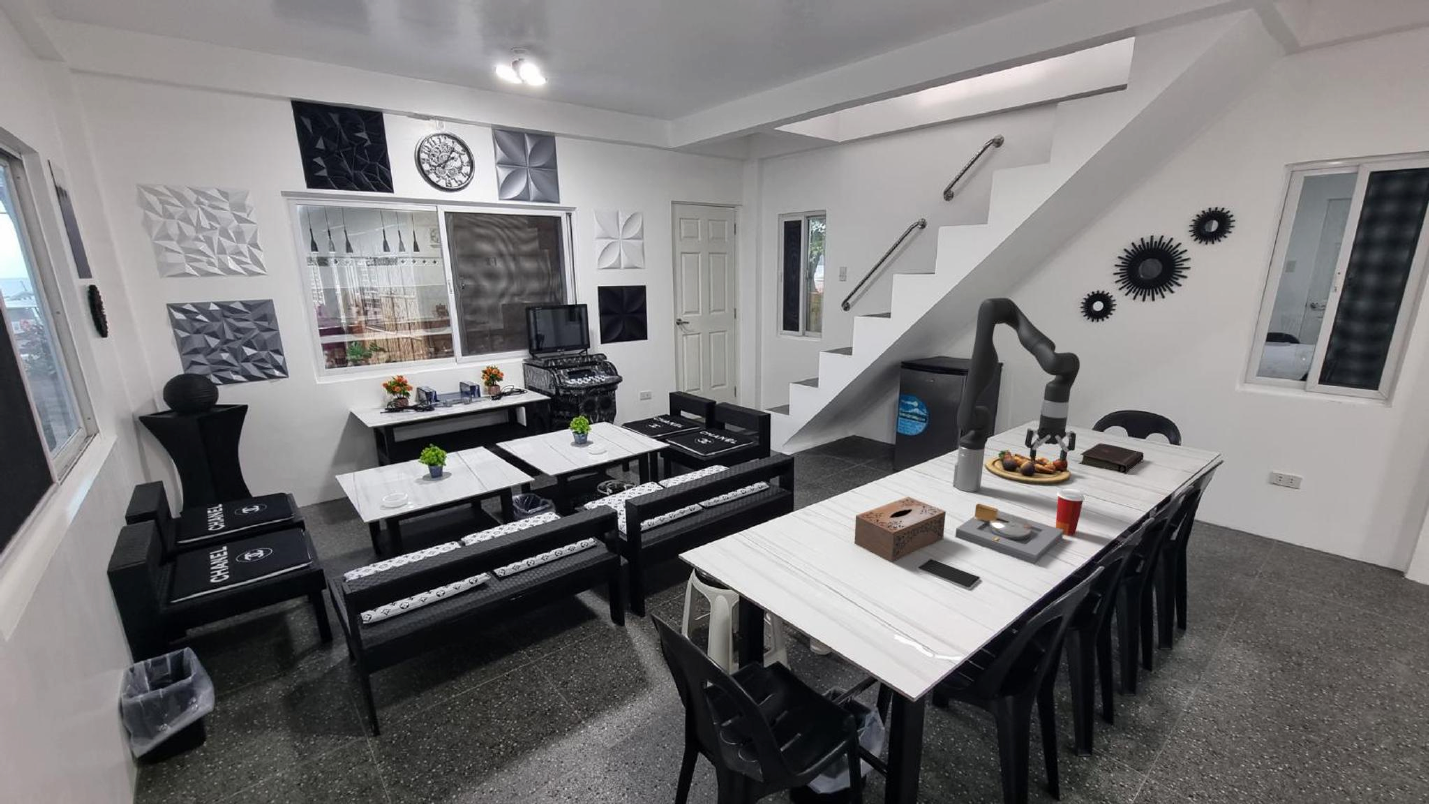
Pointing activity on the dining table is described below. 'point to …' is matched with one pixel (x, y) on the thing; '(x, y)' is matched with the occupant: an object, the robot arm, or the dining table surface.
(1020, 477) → the wooden plate with food
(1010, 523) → the dial
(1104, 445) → the diary
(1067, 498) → the paper cup
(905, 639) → the dining table surface
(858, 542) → the tissue box cover
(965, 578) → the smartphone
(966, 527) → the panel
